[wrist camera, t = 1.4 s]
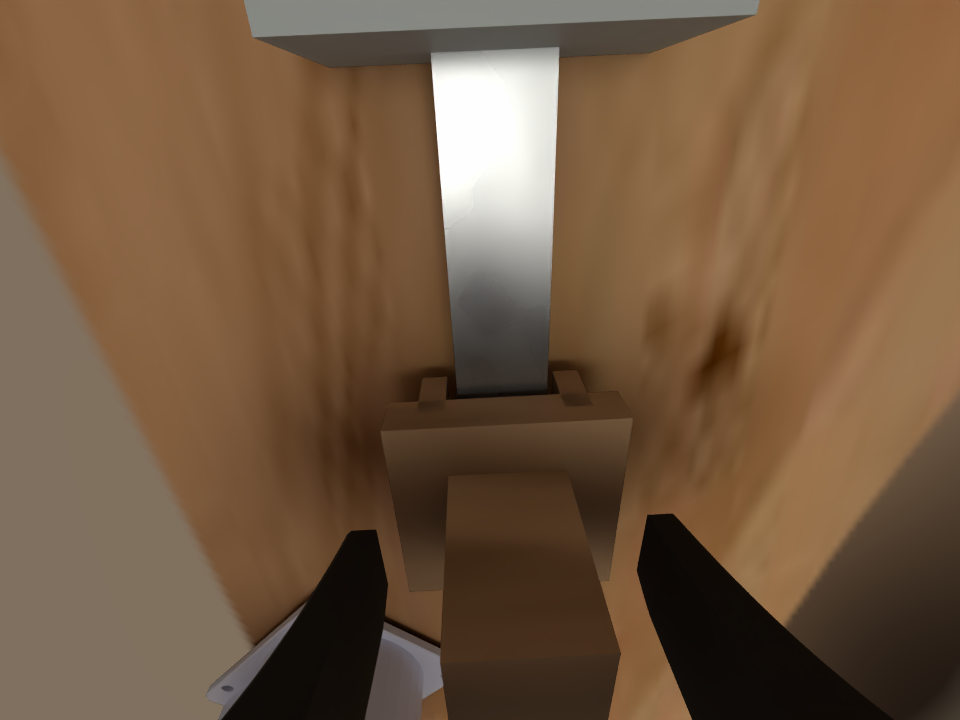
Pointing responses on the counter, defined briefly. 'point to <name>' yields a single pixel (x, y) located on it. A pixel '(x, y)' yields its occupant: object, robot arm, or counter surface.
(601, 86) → the counter surface
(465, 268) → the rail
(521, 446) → the carriage
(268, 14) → the grey rectangular block
